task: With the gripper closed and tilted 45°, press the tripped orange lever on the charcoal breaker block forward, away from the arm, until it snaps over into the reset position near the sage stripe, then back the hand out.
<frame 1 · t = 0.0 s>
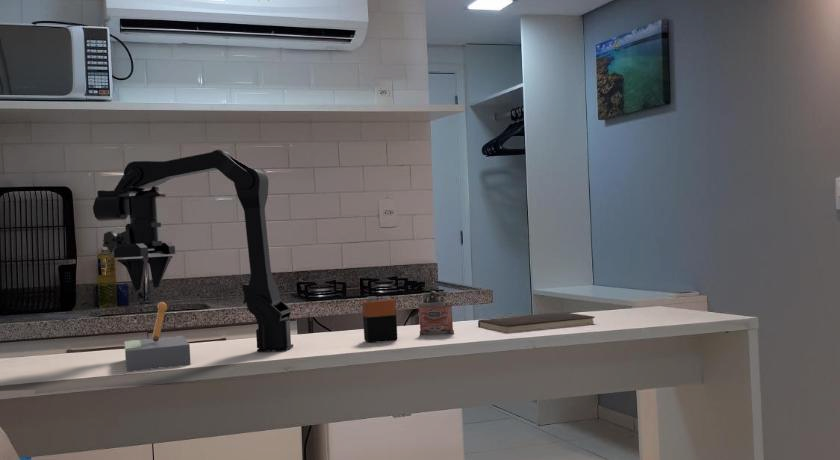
hand: (147, 288, 178), 15 cm above the table, tool pointing down, fingers open, 9 cm apart
lighter: (436, 335, 186), on the table
hardcover book: (535, 328, 192), on the table
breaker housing: (156, 362, 166), on the table
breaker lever: (159, 321, 166), point 8 cm above the table, hinge at -15.0°
battery: (381, 341, 180), on the table
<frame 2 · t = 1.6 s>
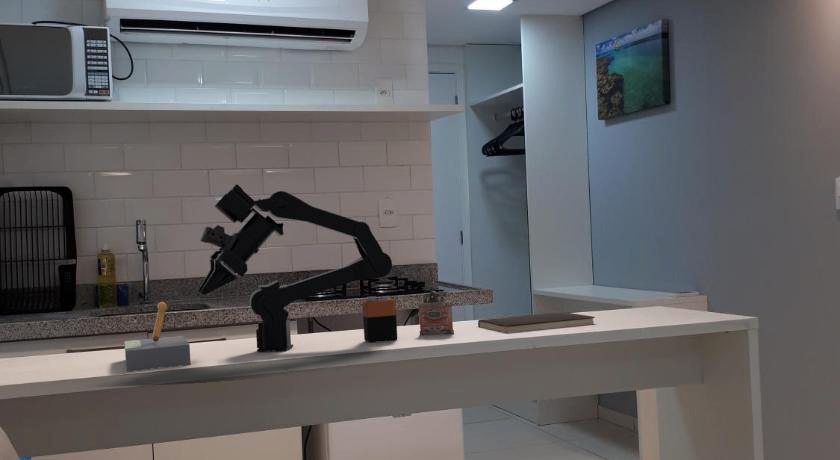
hand: (201, 293, 170), 14 cm above the table, tool tilted 45°, fingers open, 5 cm apart
nothing on the table moved.
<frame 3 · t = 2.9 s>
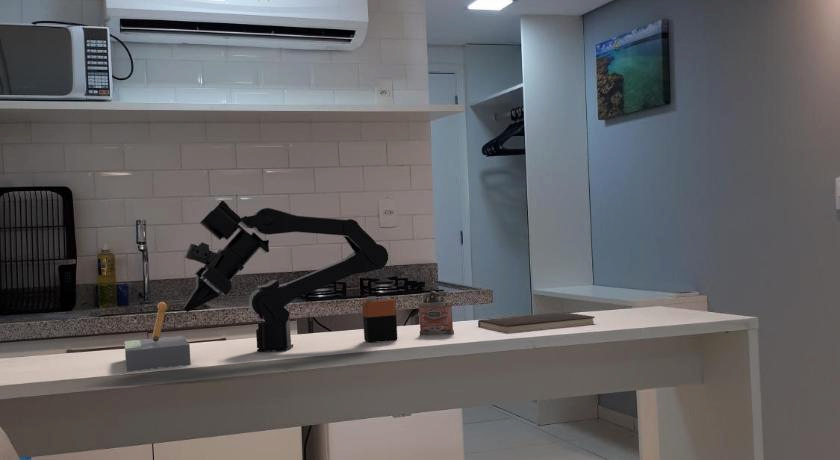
hand: (185, 310, 168), 10 cm above the table, tool tilted 45°, fingers closed
nothing on the table moved.
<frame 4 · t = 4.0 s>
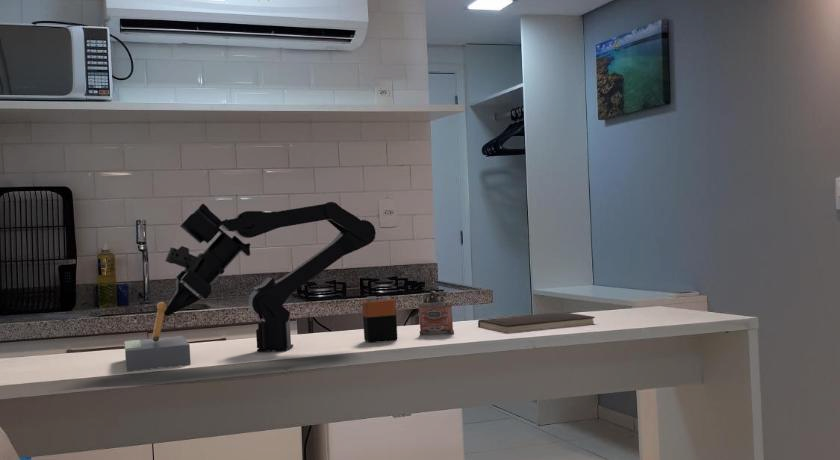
hand: (165, 314, 167), 10 cm above the table, tool tilted 45°, fingers closed, pressing on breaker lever
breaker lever: (158, 321, 166), point 8 cm above the table, hinge at -14.2°, touching gripper
everything else where it was.
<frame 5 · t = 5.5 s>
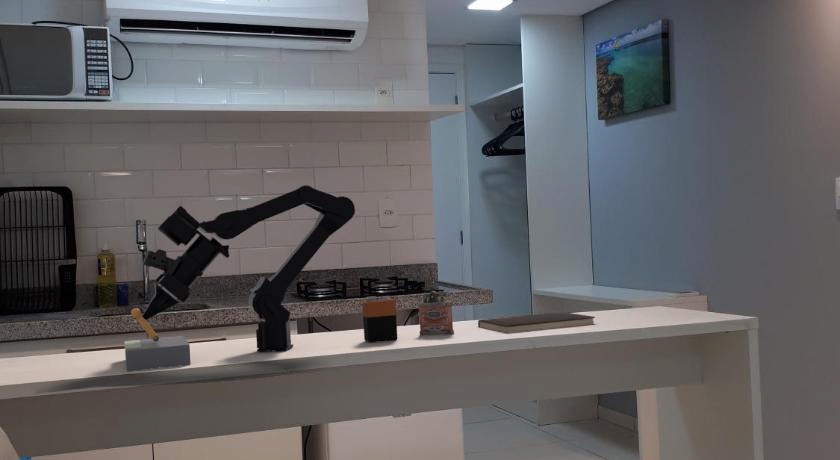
hand: (143, 318, 165), 9 cm above the table, tool tilted 45°, fingers closed, pressing on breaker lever
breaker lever: (145, 325, 165), point 8 cm above the table, hinge at 33.0°, touching gripper
everything else where it was.
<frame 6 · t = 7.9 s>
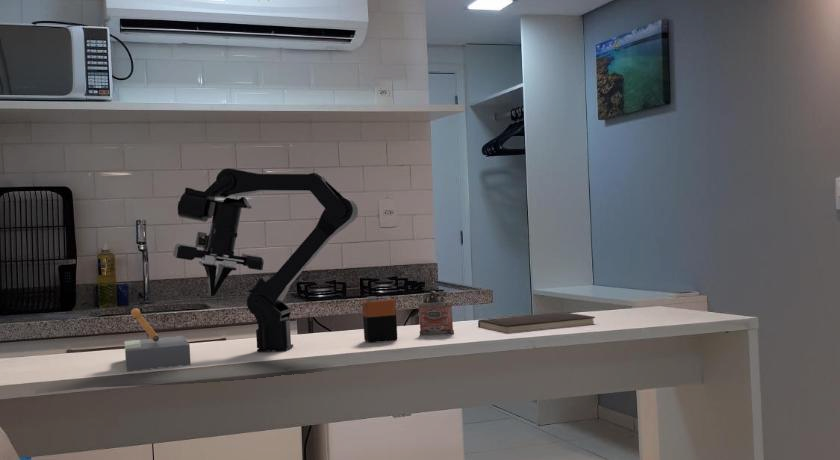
hand: (212, 295, 176), 12 cm above the table, tool pointing down, fingers closed
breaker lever: (145, 325, 165), point 8 cm above the table, hinge at 33.3°
everything else where it was.
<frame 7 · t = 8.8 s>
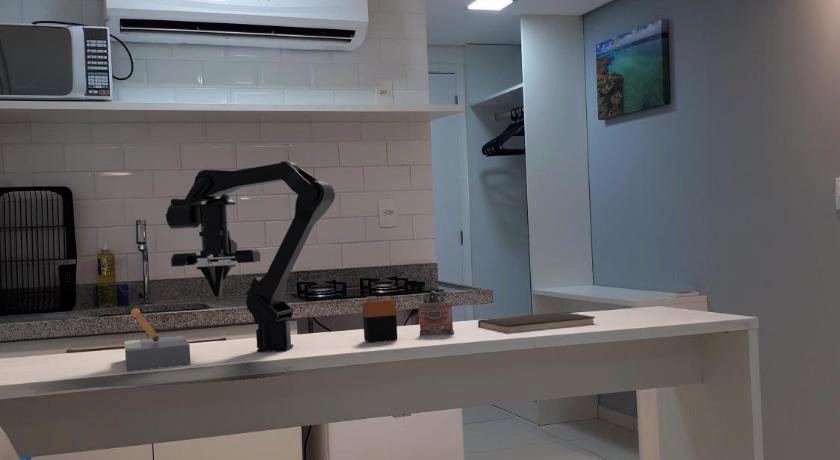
hand: (218, 296, 178), 12 cm above the table, tool pointing down, fingers closed
nothing on the table moved.
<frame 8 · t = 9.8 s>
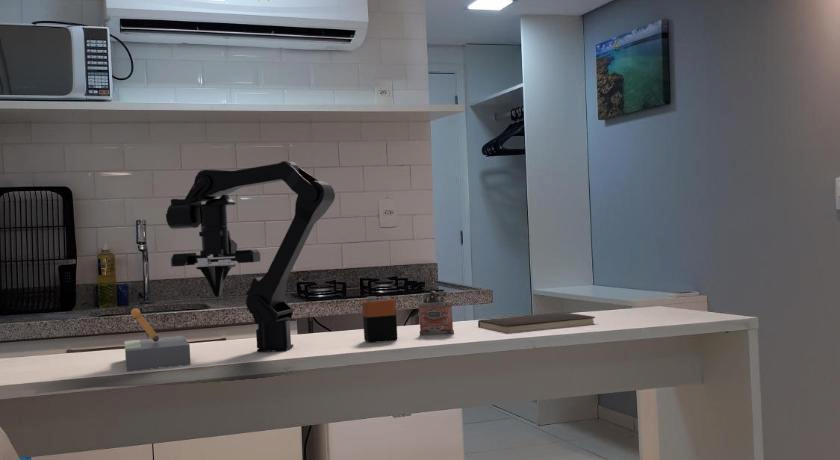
hand: (218, 296, 178), 12 cm above the table, tool pointing down, fingers closed
nothing on the table moved.
at the end: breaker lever at +33° (first picture: -15°); battery moved 0.2 cm from its start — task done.
